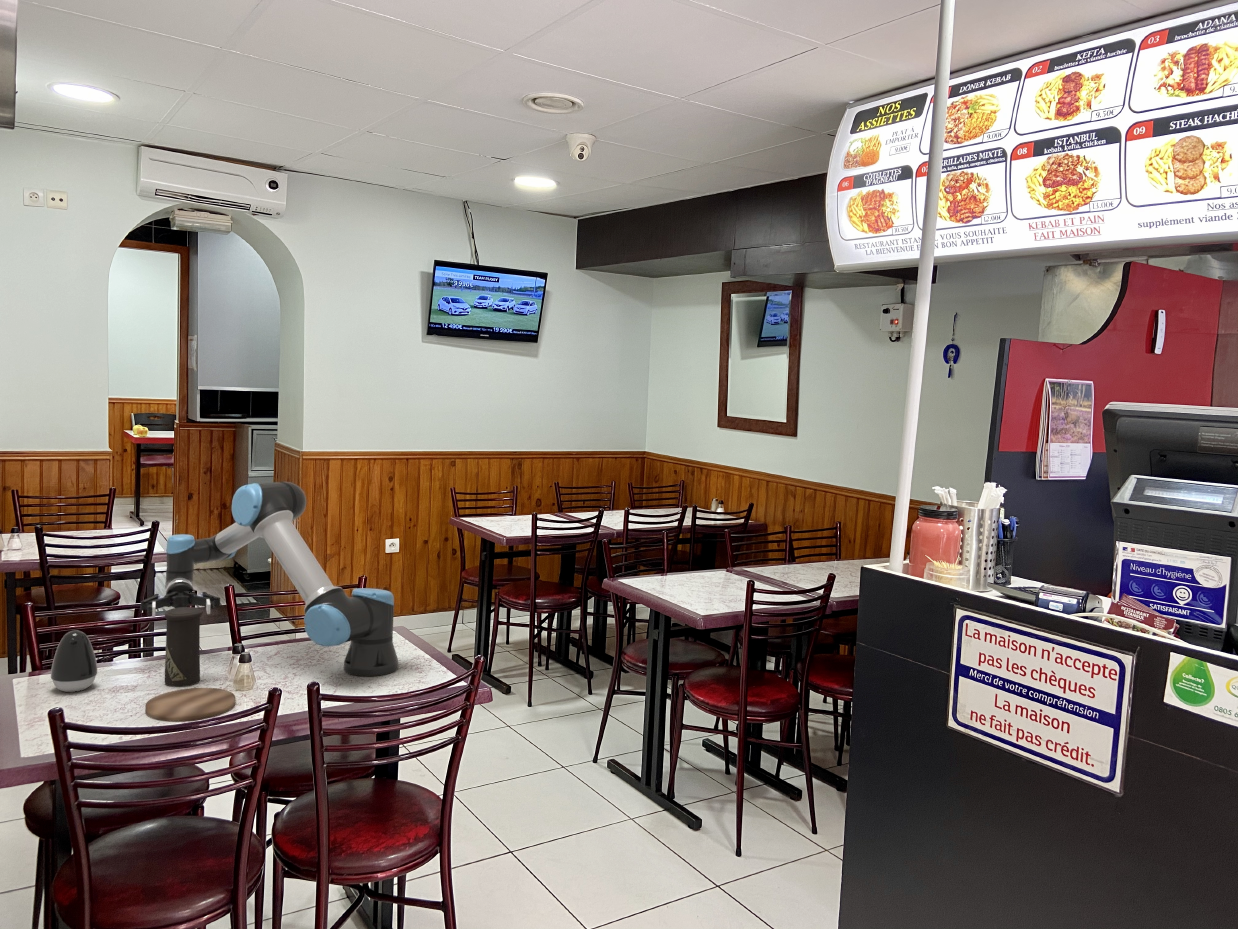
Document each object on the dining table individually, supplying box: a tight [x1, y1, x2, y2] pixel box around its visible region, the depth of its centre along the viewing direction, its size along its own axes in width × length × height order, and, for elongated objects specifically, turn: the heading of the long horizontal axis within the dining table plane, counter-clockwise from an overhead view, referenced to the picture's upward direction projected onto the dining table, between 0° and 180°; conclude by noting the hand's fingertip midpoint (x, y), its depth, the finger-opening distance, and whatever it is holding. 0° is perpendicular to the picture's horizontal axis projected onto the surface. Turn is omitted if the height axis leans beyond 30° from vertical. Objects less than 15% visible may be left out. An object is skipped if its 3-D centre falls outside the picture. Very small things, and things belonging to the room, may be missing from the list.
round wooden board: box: [144, 687, 236, 722], centre depth 218 cm, size 20×20×2 cm
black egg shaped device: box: [50, 629, 98, 693], centre depth 226 cm, size 10×10×15 cm
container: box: [164, 606, 203, 688], centre depth 235 cm, size 9×9×20 cm
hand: (181, 610), depth 243 cm, fingers open, 13 cm apart
